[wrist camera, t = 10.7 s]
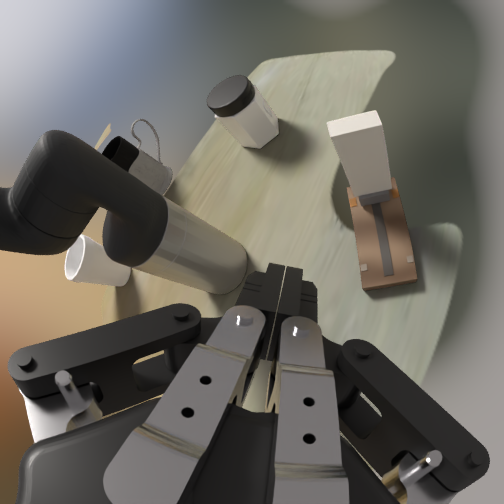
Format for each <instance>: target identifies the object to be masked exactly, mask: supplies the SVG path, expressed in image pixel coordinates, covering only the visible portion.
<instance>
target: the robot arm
mask: <svg viewBox="0 0 504 504" xmlns="http://www.w3.org/2000/svg"><path fill="white" fill-rule="evenodd" d="M99 207H102V208H104V209H106V210H108V211H107V214H106V218H105V222H104V227H103V247H104V250H105V252H106V254H107V256H108V257H109V258H110V259H111V260H113V261H114V262H117V263H119V264H122V265H125V266H128V267H131V268H134V269H137V270H140V271H143V272H146V273H149V274H152V275H155V276H158V277H162V278H165V279H168V280H171V281H174V282H177V283H181V284H184V285H187V286H190V287H194V288H197V289H200V290H203V291H207V292H210V293H213V294H226V293H228V292H231V291H232V290H234V289H235V288H236V287H237V286H238V285H239V284H240V283H241V281H242V280H243V278H244V275H245V273H246V269H247V254H246V252H245V249H244V248H243V246H242V245H241V244H240V243H239V242H237V241H236V240H234V239H233V238H231V237H229V236H228V235H226V234H225V233H223V232H221V231H220V230H218V229H216V228H215V227H213V226H212V225H210V224H208V223H207V222H205V221H203V220H202V219H200V218H198V217H197V216H195V215H194V214H192V213H190V212H189V211H187V210H185V209H184V208H182V207H180V206H179V205H177V204H175V203H174V202H172V201H170V200H169V199H167V198H166V197H164V196H162V195H161V194H159V193H157V192H156V191H154V190H153V189H151V188H150V187H148V186H147V185H146V184H144V183H143V182H142V181H140V180H139V179H138V178H136V177H135V176H133V175H132V174H130V173H128V172H127V171H125V170H124V169H122V168H121V167H119V166H118V165H116V164H115V163H113V162H112V161H111V160H109V159H108V158H106V157H105V156H104V155H102V154H101V153H99V152H98V151H97V150H95V149H94V148H92V147H91V146H90V145H88V144H87V143H85V142H84V141H82V140H81V139H79V138H77V137H75V136H74V135H72V134H69V133H67V132H64V131H59V130H51V131H48V132H46V133H44V134H43V135H42V136H41V137H40V138H39V140H38V141H37V143H36V144H35V146H34V147H33V149H32V151H31V153H30V154H29V156H28V158H27V160H26V162H25V164H24V166H23V167H22V170H21V171H20V173H19V175H18V177H17V180H16V181H15V183H14V186H13V187H11V188H0V250H5V251H10V252H18V253H25V254H34V255H54V254H59V253H62V252H64V251H66V250H68V249H69V248H70V247H71V246H72V245H73V244H74V243H75V242H76V240H77V239H78V238H79V236H80V235H81V233H82V232H83V230H84V229H85V227H86V226H87V224H88V223H89V221H90V220H91V218H92V217H93V216H94V214H95V213H96V211H97V210H98V208H99ZM284 270H285V266H284V265H279V264H274V263H269V265H268V268H267V271H266V273H262V272H257V271H255V272H253V273H252V274H250V275H249V276H248V277H247V280H246V282H245V284H244V286H243V289H242V291H241V293H240V296H239V298H238V300H237V302H236V305H235V306H234V307H231V308H229V309H228V310H227V311H226V312H225V314H224V316H223V317H218V318H201V313H200V311H199V310H198V309H197V308H195V307H194V306H191V305H188V304H182V303H178V304H172V305H169V306H165V307H162V308H159V309H156V310H152V311H149V312H146V313H143V314H139V315H136V316H133V317H129V318H126V319H123V320H119V321H116V322H113V323H109V324H106V325H103V326H99V327H96V328H92V329H89V330H86V331H82V332H78V333H75V334H72V335H68V336H64V337H61V338H57V339H53V340H50V341H46V342H43V343H39V344H35V345H31V346H27V347H24V348H21V349H19V350H18V351H16V352H14V353H13V354H12V356H11V357H10V359H9V362H8V371H9V373H10V375H11V376H12V378H13V380H14V381H15V383H16V385H17V386H18V388H19V391H20V392H21V394H22V395H23V396H24V398H25V403H26V409H27V413H28V418H29V422H30V426H31V430H32V434H33V438H34V441H35V443H34V444H33V445H32V446H31V447H29V449H28V450H27V451H26V452H25V454H24V455H23V457H22V460H21V462H20V467H19V485H18V493H17V499H16V503H15V504H449V502H450V501H451V500H452V499H453V497H454V496H455V495H456V494H457V493H458V492H460V491H461V490H463V489H465V488H466V487H468V486H469V485H471V484H472V483H474V482H475V481H476V480H478V479H480V478H481V477H482V476H484V475H485V473H486V472H487V470H488V468H489V464H490V458H489V454H488V452H487V450H486V448H485V447H484V446H483V445H482V444H481V443H480V442H479V441H478V440H477V439H476V438H474V437H473V436H472V435H471V434H470V433H469V432H468V431H467V430H466V429H465V428H464V427H463V426H462V425H460V424H459V423H458V422H457V421H456V420H455V419H454V418H453V417H452V416H451V415H450V414H449V413H447V411H445V410H444V409H443V408H442V407H441V406H440V405H439V404H438V403H437V402H436V401H434V400H433V399H432V398H431V397H430V396H429V395H428V394H427V393H426V392H424V391H423V390H422V389H421V388H420V387H419V386H418V385H417V384H416V383H415V382H414V381H413V380H411V379H410V378H409V377H408V376H407V375H406V374H405V373H404V372H403V371H401V370H400V369H399V368H398V367H397V366H396V365H395V364H394V363H393V362H392V361H390V360H389V359H388V358H387V357H386V356H385V355H384V354H383V353H382V352H380V351H379V350H378V349H377V348H376V347H375V346H374V345H372V344H371V343H369V342H367V341H364V340H360V339H351V340H348V341H346V342H345V343H344V344H343V346H341V345H339V344H336V343H334V342H332V341H330V340H328V339H326V338H325V337H324V336H323V335H322V332H321V328H320V326H319V325H318V324H317V288H316V287H315V285H314V284H313V282H309V281H304V280H302V275H303V269H300V268H294V267H289V266H287V268H286V273H285V278H284V283H283V287H282V292H281V297H280V302H279V307H278V312H277V316H276V321H275V326H274V331H273V335H272V340H271V344H270V349H269V354H268V358H267V360H269V361H272V365H271V370H270V373H269V377H268V386H267V395H266V404H265V412H259V413H256V412H250V411H248V410H246V409H243V408H242V406H243V403H244V401H245V398H246V396H247V393H248V391H249V388H250V385H251V383H252V380H253V378H254V375H255V370H256V369H257V367H258V365H259V361H260V359H263V360H265V359H266V355H267V350H268V346H269V341H270V337H271V332H272V328H273V323H274V319H275V314H276V309H277V305H278V300H279V295H280V290H281V285H282V280H283V275H284ZM162 350H164V354H161V355H159V356H156V357H153V358H151V359H148V360H145V361H142V362H139V363H137V364H134V362H135V361H136V360H138V359H140V358H143V357H145V356H148V355H151V354H154V353H156V352H159V351H162ZM133 364H134V365H133ZM361 392H362V393H363V394H364V395H365V396H366V397H367V398H368V399H369V400H370V401H371V402H372V403H373V404H374V405H375V406H376V407H377V408H378V409H379V411H380V412H381V415H382V417H381V416H380V415H379V414H378V413H377V412H376V411H375V410H374V409H373V408H372V407H371V406H370V405H369V404H368V403H367V402H366V401H365V400H364V399H363V398H362V397H361V396H360V394H361ZM161 394H163V396H162V397H160V398H155V399H152V400H149V399H151V398H154V397H156V396H159V395H161ZM146 400H148V401H146ZM144 401H146V402H144ZM141 402H143V403H141ZM139 403H141V404H139ZM136 404H139V405H136ZM133 405H136V406H134V407H132V408H129V409H127V410H124V411H122V412H119V413H117V414H114V415H112V416H109V417H107V418H104V419H102V417H103V416H105V415H108V414H111V413H114V412H117V411H120V410H122V409H125V408H128V407H130V406H133ZM339 430H340V431H341V432H342V433H343V434H344V436H345V437H346V438H347V439H348V440H349V441H350V443H351V444H352V445H353V446H354V447H355V448H356V449H357V451H358V452H359V453H360V454H361V455H362V456H363V457H364V458H365V460H366V461H367V462H368V463H369V464H370V465H371V466H372V467H373V468H374V470H375V471H376V472H377V473H378V474H379V475H380V476H381V477H382V480H380V479H379V478H378V477H377V476H376V475H375V473H374V472H373V471H372V470H371V468H370V467H369V466H368V465H367V464H366V462H365V461H364V460H363V459H362V458H361V456H360V455H359V454H358V453H357V451H356V450H355V449H354V448H353V447H352V445H351V444H350V443H349V442H348V441H347V440H346V439H344V438H343V437H342V436H340V431H339Z"/></svg>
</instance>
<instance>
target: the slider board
mask: <svg viewBox="0 0 504 504" xmlns="http://www.w3.org/2000/svg"><path fill="white" fill-rule="evenodd" d="M391 185H392V189H389V190H388V191H389V196H390V201H385V202H380V203H375V204H371V205H366V206H361V204H360V201H359V197H358V196H356V197H354V194H353V192H352V189H351V187H347V192H348V197H349V202H350V208H351V213H352V219H353V225H354V231H355V237H356V243H357V250H358V257H359V265H360V273H361V281H362V289H363V290H364V291H367V290H373V289H379V288H385V287H391V286H397V285H402V284H408V283H413V282H416V281H417V273H416V267H415V261H414V256H413V251H412V246H411V241H410V236H409V231H408V227H407V223H406V219H405V214H404V211H403V207H402V203H401V200H400V195H399V192H398V188H397V185H396V181H395V178H394V177H393V178H391Z"/></svg>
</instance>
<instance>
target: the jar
mask: <svg viewBox="0 0 504 504" xmlns="http://www.w3.org/2000/svg"><path fill="white" fill-rule="evenodd" d="M207 105H208V107H209V108H210V109H211V110H212V111H213V112H214V113H215V118H216V119H217V120H218V121H219V122H220V123H221V124H222V125H223V126H224V128H225V129H226V130H227V131H228V132H229V133H230V134H231V135H232V136H233V137H234V138H235V139H236V140H237V141H238V143H239V144H240V145H241V146H245V147H252V148H259V149H260V148H262V147H263V146H264V145H265V144H267V143H268V142H269V141H270V140H272V139H273V138H274V137H275V136H277V135H278V134H279V128H278V117H277V116H276V114H275V113H274V111H273V110H272V108H271V107H270V105H269V104H268V103H267V101H266V100H265V98H264V97H263V95H262V94H261V93H260V91H259V90H258V88H257V87H256V86H255V85H252V83H251V82H250V81H249V80H248V78H247V77H245V76H242V75H237V76H233V77H229V78H227V79H225V80H224V81H222V82H221V83H219V84H218V85H217V86H216V87H214V89H213V90H212V91H211V92H210V94H209V96H208V98H207Z"/></svg>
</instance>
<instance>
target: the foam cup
mask: <svg viewBox="0 0 504 504" xmlns="http://www.w3.org/2000/svg"><path fill="white" fill-rule="evenodd" d="M130 273H131V267H128V266H125V265H122V264H119V263H117V262H114V261H113V260H111V259H110V258H109V257H108V256H107V254H106V252H105V250H104V247H103V246H102V245H100V244H98V243H97V242H95V241H93V240H92V239H91V238H90V237H87V236H85V235H82V234H81V235H80V236H79V238H78V239H77V240H76V242H75V243H74V244H73V245H72V246H71V247H70V248H69V249H68V252H67V255H66V260H65V276H66V277H67V279H68V280H71V281H74V282H86V283H94V284H102V285H111V286H123V285H125V284H126V283H127V281H128V279H129V277H130Z"/></svg>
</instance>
